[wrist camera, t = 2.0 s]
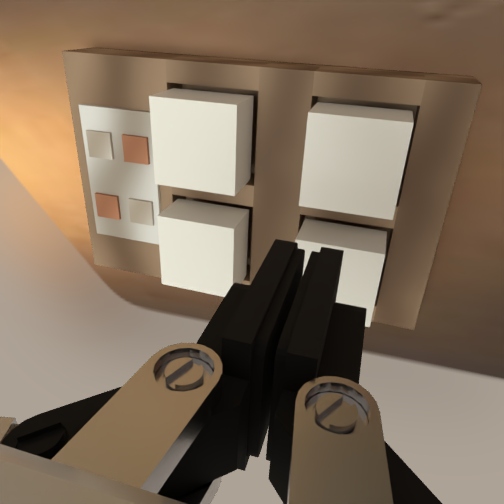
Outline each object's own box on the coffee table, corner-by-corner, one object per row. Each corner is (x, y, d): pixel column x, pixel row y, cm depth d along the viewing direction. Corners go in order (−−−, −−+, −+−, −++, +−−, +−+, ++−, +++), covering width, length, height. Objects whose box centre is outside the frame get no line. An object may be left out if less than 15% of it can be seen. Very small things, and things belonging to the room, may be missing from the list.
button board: (472, 76, 22) (483, 86, 19) (412, 302, 29) (414, 335, 26) (93, 47, 27) (56, 51, 24) (117, 245, 34) (90, 267, 31)
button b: (387, 231, 24) (385, 254, 22) (372, 299, 27) (369, 327, 24) (305, 218, 26) (295, 239, 23) (297, 285, 28) (288, 310, 25)
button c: (253, 95, 23) (236, 105, 21) (250, 179, 25) (234, 196, 23) (173, 88, 24) (148, 96, 22) (176, 168, 26) (154, 183, 24)
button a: (412, 110, 21) (413, 122, 19) (393, 199, 24) (392, 220, 21) (317, 101, 22) (308, 112, 20) (308, 187, 25) (298, 205, 22)
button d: (249, 209, 26) (233, 228, 24) (246, 275, 29) (232, 298, 26) (178, 198, 27) (157, 215, 25) (180, 262, 30) (161, 283, 27)
